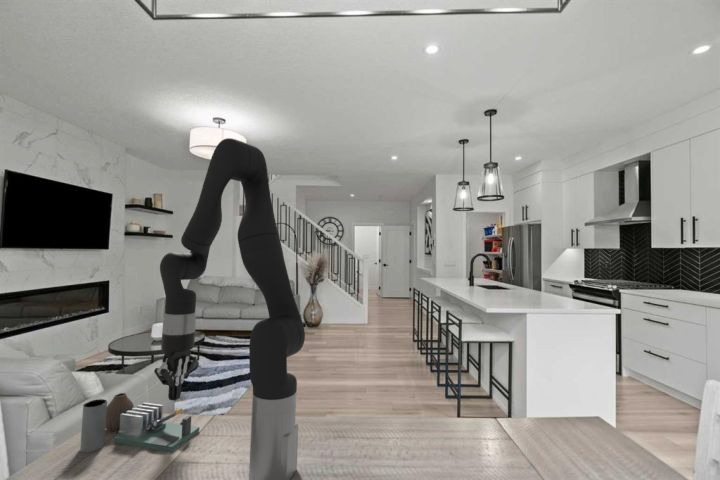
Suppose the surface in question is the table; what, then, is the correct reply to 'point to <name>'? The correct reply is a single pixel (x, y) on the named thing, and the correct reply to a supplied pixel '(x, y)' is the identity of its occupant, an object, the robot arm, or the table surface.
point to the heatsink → (141, 420)
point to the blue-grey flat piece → (165, 418)
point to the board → (160, 438)
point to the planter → (93, 425)
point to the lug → (186, 425)
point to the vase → (117, 411)
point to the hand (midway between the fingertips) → (174, 399)
